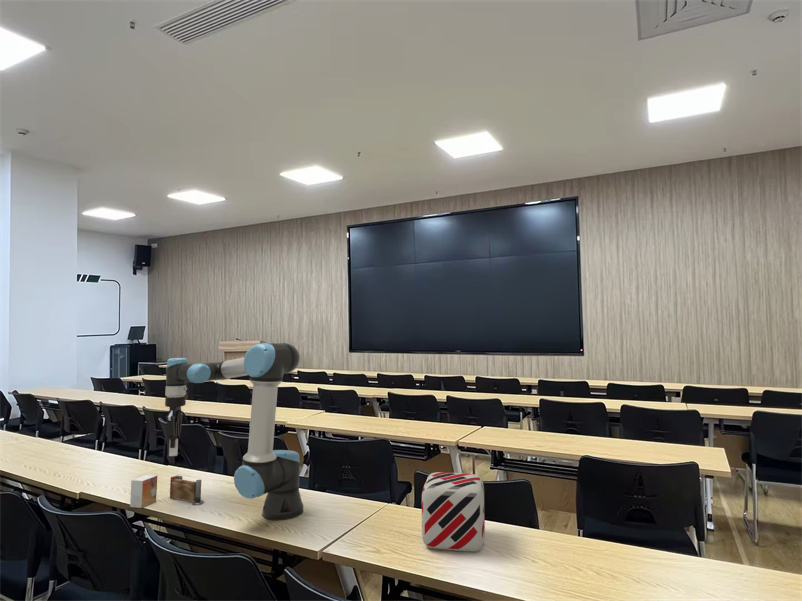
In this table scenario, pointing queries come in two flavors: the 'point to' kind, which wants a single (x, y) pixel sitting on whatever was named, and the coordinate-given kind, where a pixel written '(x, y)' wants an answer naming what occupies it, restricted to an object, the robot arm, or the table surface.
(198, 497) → the pivot post
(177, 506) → the table surface
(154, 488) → the small box
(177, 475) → the latch post
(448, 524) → the decorative cube
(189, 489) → the gate
